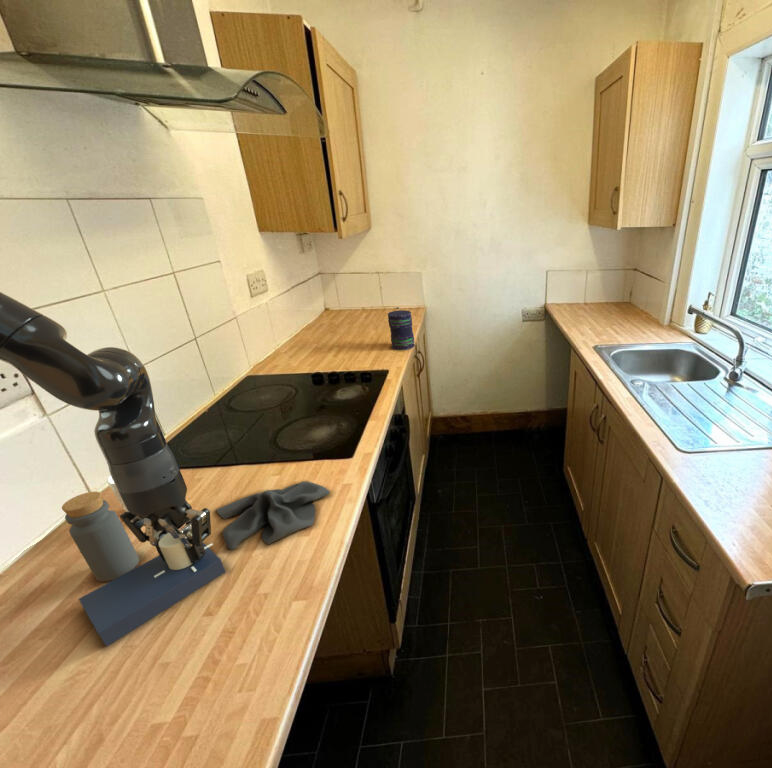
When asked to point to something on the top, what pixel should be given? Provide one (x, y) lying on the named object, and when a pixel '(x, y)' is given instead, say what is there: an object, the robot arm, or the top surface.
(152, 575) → the panel
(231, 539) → the cloth
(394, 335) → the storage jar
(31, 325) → the robot arm
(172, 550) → the knob
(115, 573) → the bottle
